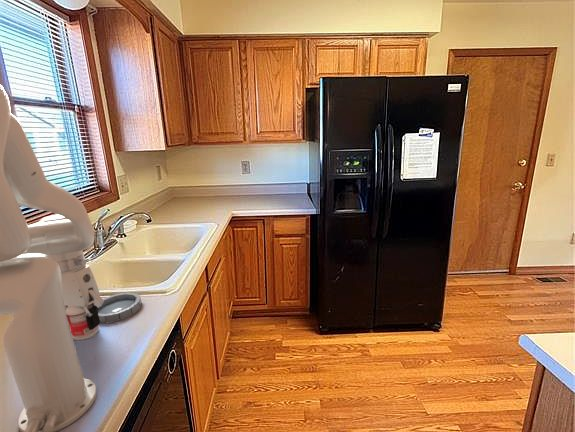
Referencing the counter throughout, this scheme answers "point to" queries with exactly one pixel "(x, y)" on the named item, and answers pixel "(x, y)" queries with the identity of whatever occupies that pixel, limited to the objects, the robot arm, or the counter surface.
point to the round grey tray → (119, 307)
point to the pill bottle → (79, 322)
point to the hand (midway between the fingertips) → (84, 325)
